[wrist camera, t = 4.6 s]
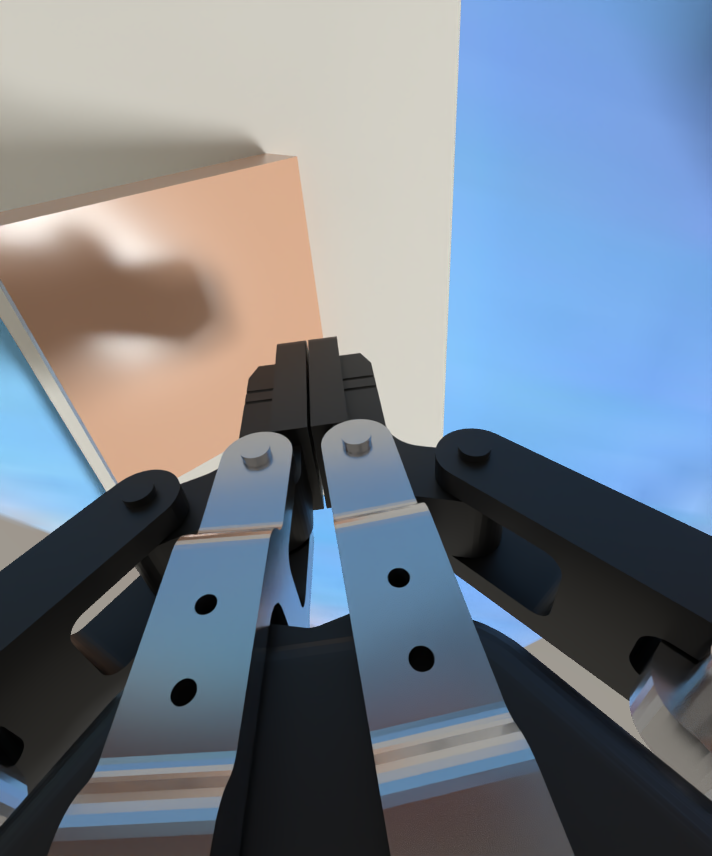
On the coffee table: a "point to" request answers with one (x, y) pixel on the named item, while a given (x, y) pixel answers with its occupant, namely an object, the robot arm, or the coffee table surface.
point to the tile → (164, 303)
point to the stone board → (260, 150)
